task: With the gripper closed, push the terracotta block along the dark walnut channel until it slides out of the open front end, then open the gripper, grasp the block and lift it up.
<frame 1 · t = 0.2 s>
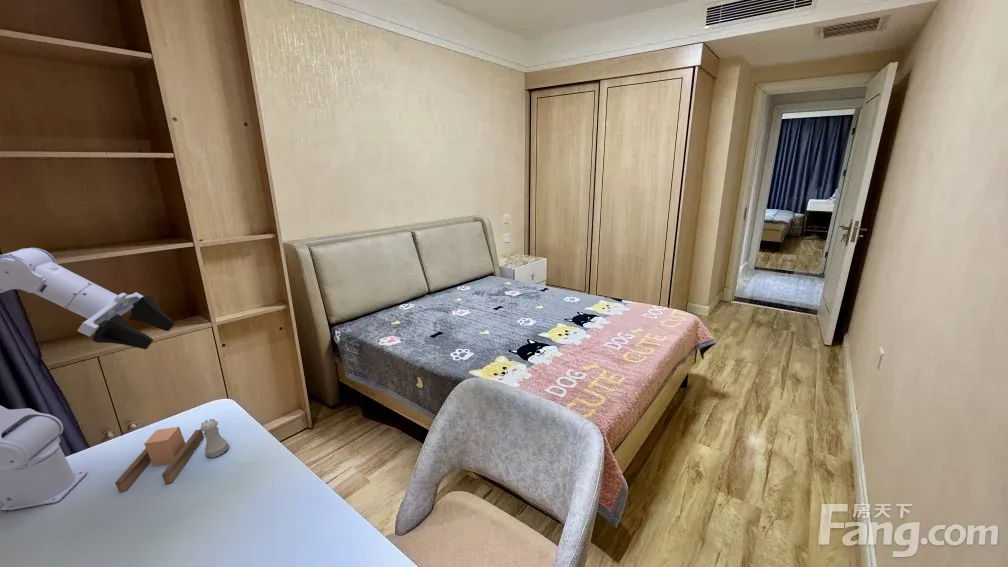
hand: (161, 335, 78), 31 cm above the table, tool tilted 45°, fingers open, 7 cm apart
terracotta block: (170, 456, 91), on the table
rook chess piece: (218, 452, 92), on the table
walnut channel: (165, 462, 89), on the table
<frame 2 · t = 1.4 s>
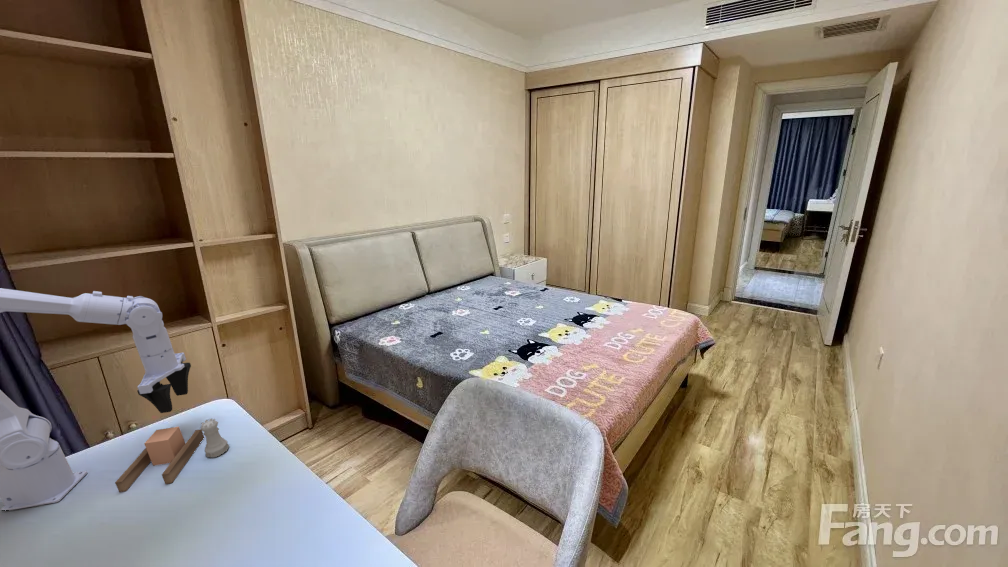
hand: (174, 402, 94), 9 cm above the table, tool pointing down, fingers open, 6 cm apart
nothing on the table moved.
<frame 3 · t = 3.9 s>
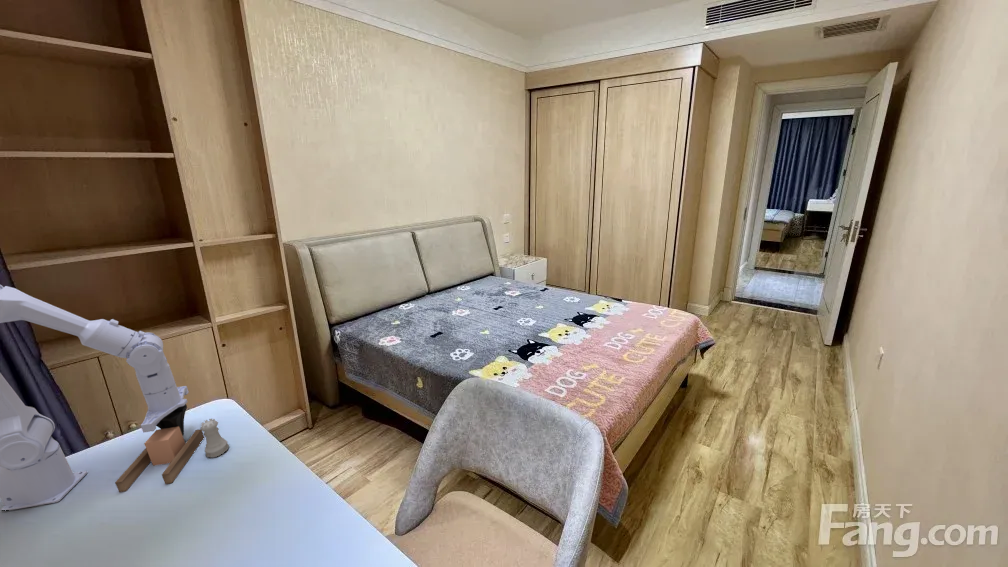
hand: (177, 437, 94), 2 cm above the table, tool pointing down, fingers closed
terracotta block: (170, 456, 91), on the table, touching gripper
everything else where it was.
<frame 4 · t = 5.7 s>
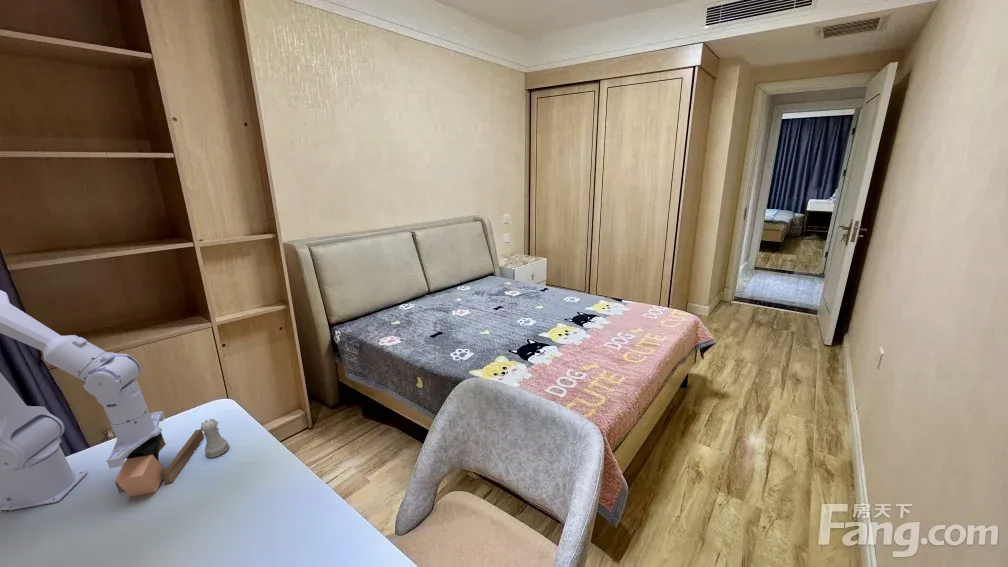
hand: (151, 469, 84), 2 cm above the table, tool pointing down, fingers closed
terracotta block: (148, 483, 82), point 1 cm above the table, tilted 17°, touching gripper
everything else where it was.
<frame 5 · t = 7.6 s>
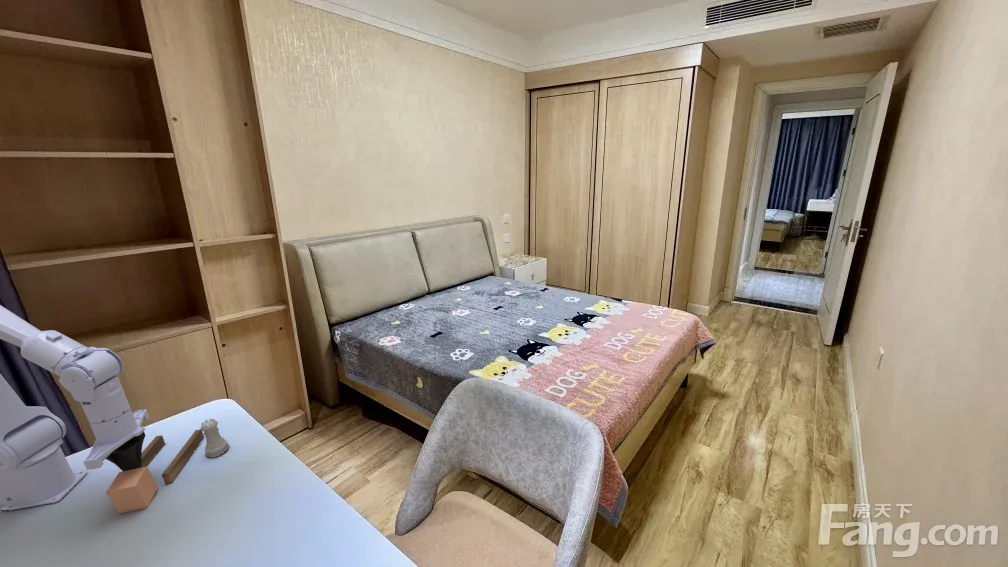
hand: (133, 471, 80), 5 cm above the table, tool pointing down, fingers closed
terracotta block: (139, 499, 79), on the table, tilted 7°, touching gripper
everything else where it was.
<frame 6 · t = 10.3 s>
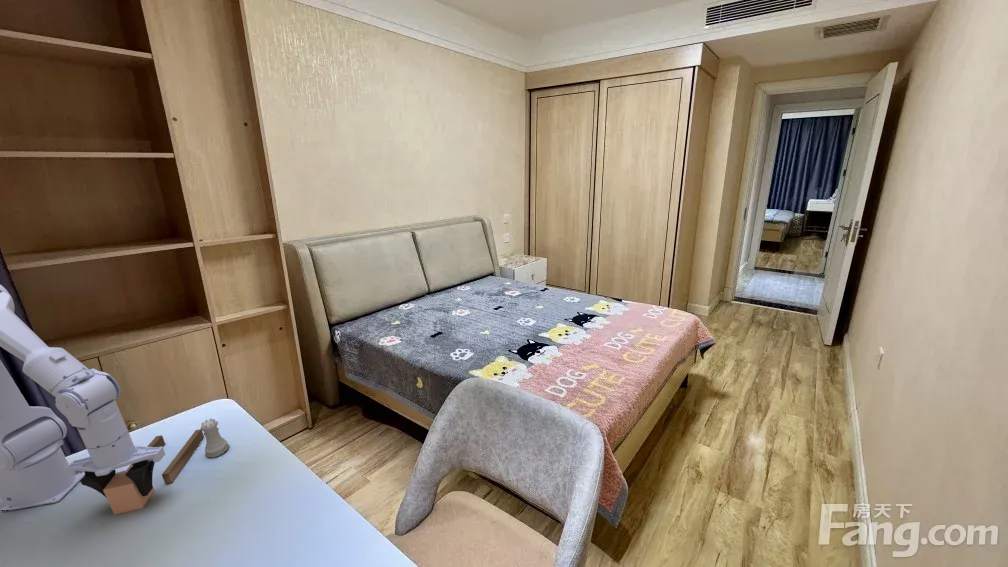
hand: (132, 494, 78), 2 cm above the table, tool pointing down, fingers closed on terracotta block, 5 cm apart
terracotta block: (135, 502, 79), on the table, touching gripper
everything else where it was.
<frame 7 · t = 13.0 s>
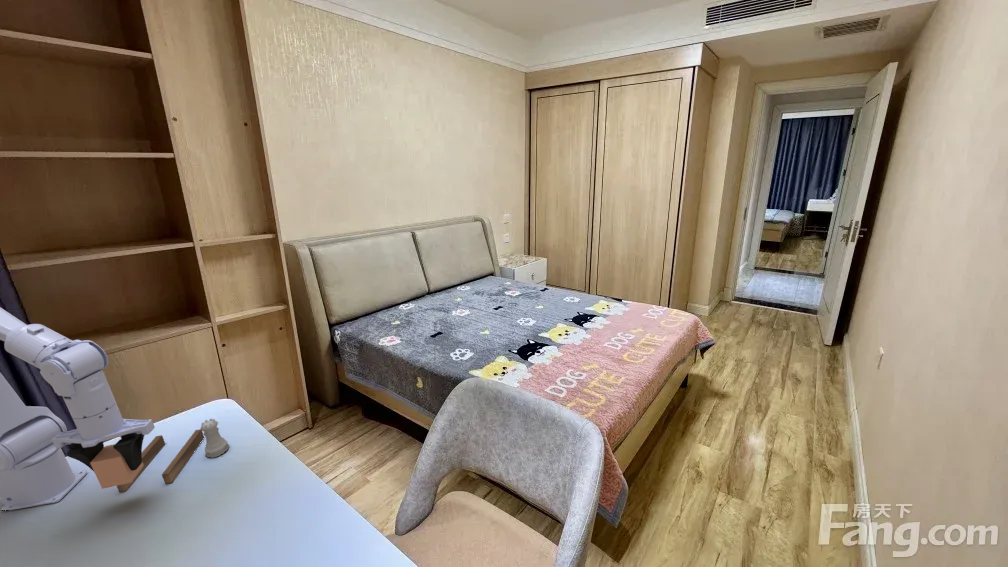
hand: (120, 469, 76), 8 cm above the table, tool pointing down, fingers closed on terracotta block, 5 cm apart
terracotta block: (123, 476, 77), point 6 cm above the table, touching gripper
everything else where it was.
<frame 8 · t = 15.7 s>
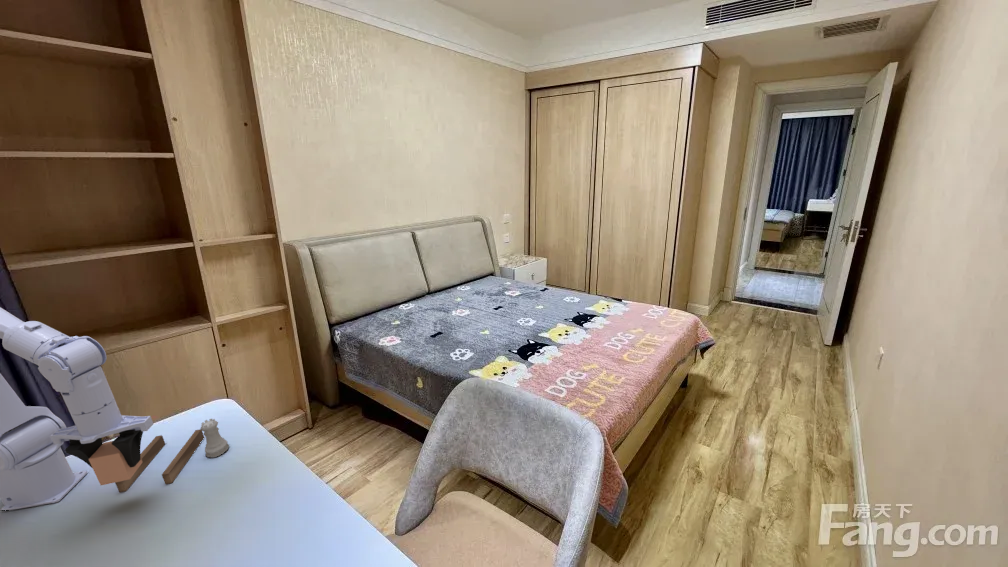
hand: (119, 465, 76), 9 cm above the table, tool pointing down, fingers closed on terracotta block, 5 cm apart
terracotta block: (122, 473, 77), point 7 cm above the table, touching gripper
everything else where it was.
at the end: terracotta block inside the target area (0.1 cm from its centre), point 7.1 cm above the table; the gripper is holding terracotta block; rook chess piece tilted 0° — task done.
